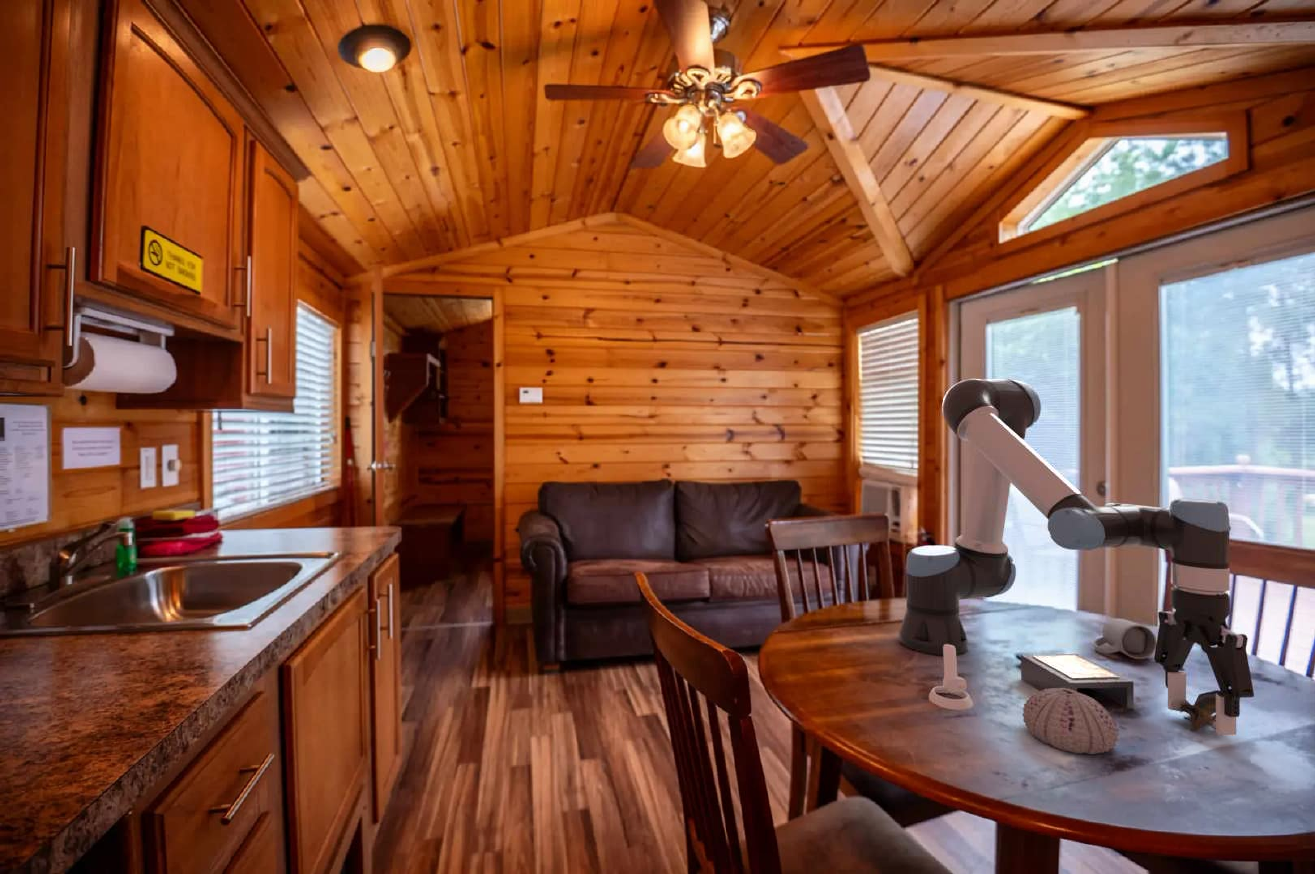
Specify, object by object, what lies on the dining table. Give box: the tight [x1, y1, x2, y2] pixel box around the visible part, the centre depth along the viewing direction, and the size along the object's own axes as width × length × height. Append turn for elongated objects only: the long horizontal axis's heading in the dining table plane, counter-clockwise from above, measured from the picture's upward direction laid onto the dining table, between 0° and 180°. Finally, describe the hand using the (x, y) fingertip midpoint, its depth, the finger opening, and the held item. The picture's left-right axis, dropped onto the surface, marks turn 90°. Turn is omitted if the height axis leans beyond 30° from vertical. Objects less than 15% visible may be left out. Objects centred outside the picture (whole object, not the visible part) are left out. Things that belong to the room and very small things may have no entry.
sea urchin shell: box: [1022, 688, 1120, 755], centre depth 99 cm, size 13×14×8 cm
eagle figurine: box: [1171, 689, 1221, 733], centre depth 103 cm, size 8×7×9 cm
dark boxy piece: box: [1020, 653, 1135, 710], centre depth 116 cm, size 12×14×5 cm
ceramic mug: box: [1092, 618, 1157, 660], centre depth 138 cm, size 11×8×8 cm
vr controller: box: [928, 644, 974, 711], centre depth 115 cm, size 8×12×7 cm
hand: (1200, 720), depth 102 cm, fingers closed on eagle figurine, 8 cm apart
